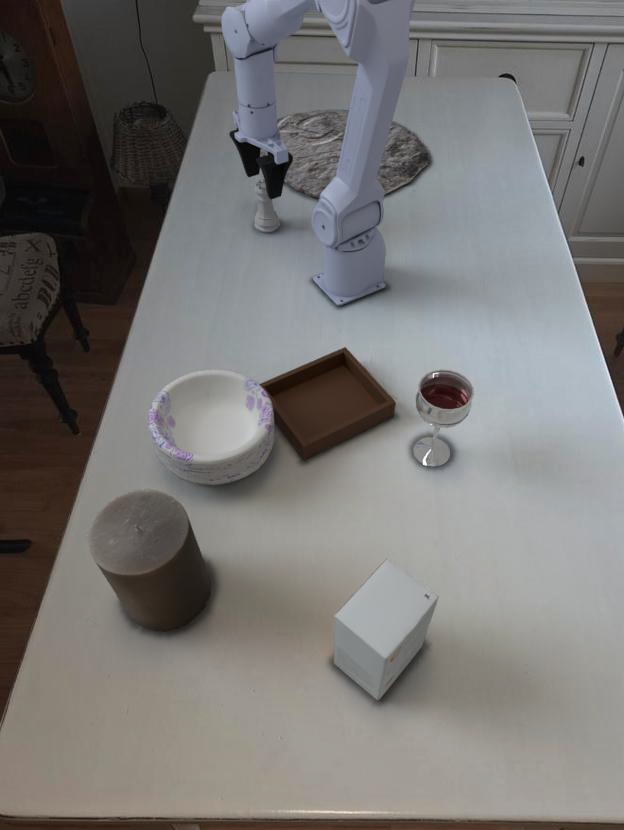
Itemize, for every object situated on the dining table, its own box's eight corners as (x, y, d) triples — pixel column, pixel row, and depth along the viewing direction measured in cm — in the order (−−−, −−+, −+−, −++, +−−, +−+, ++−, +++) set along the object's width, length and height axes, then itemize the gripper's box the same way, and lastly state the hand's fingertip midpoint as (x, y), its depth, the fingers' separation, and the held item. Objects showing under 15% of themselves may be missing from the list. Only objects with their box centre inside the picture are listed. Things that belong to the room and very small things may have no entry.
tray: (344, 361, 93) (345, 346, 91) (394, 416, 88) (396, 402, 85) (258, 400, 88) (256, 385, 86) (304, 460, 83) (303, 446, 80)
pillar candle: (217, 618, 70) (195, 554, 57) (127, 642, 68) (84, 580, 56) (203, 544, 75) (180, 471, 63) (119, 564, 73) (78, 492, 61)
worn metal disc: (320, 95, 141) (320, 93, 140) (455, 146, 130) (455, 144, 129) (219, 156, 125) (218, 154, 124) (363, 220, 114) (363, 218, 114)
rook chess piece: (276, 235, 111) (273, 192, 104) (251, 231, 111) (247, 188, 104) (282, 221, 113) (280, 178, 107) (258, 217, 114) (254, 174, 107)
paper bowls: (300, 453, 83) (298, 413, 77) (208, 520, 77) (197, 483, 70) (228, 391, 89) (221, 349, 83) (137, 448, 83) (121, 408, 76)
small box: (378, 610, 71) (387, 555, 60) (423, 645, 69) (441, 595, 58) (331, 663, 67) (332, 615, 57) (377, 703, 65) (387, 660, 54)
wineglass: (397, 440, 85) (407, 377, 75) (442, 426, 87) (457, 363, 77) (420, 478, 82) (434, 417, 72) (466, 462, 83) (485, 401, 73)
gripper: (211, 85, 97) (222, 171, 108) (256, 126, 90) (263, 214, 101) (251, 75, 99) (259, 161, 110) (298, 115, 92) (301, 201, 104)
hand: (263, 185), depth 106 cm, fingers open, 7 cm apart
